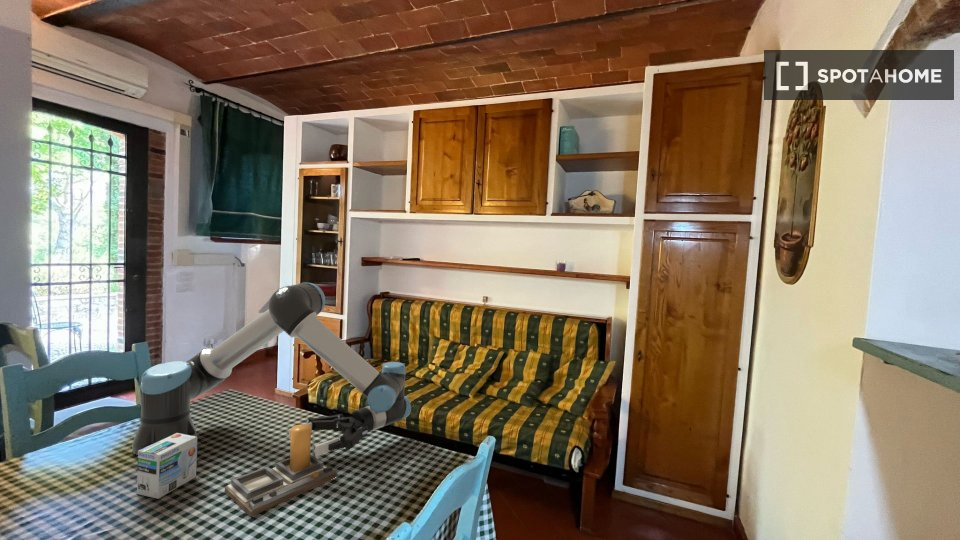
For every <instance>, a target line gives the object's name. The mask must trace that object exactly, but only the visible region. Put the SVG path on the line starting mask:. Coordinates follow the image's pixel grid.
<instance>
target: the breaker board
mask: <svg viewBox="0 0 960 540" xmlns="http://www.w3.org/2000/svg"><path fill="white" fill-rule="evenodd" d="M335 477H337V478H338V473H337V472H336V469H334V468H333V466H331V465H329V466H327V465H325V464H324V461H322V460H320V459H319V458H317V457H316V456H315V455H313V454H311V453H310V466H309V467H307V468H304V469H302V470H299V471H297V472H293V471H291V470H290V457H288V458H285V459H283V460H280V461H278V462H276V463H275V467H273V468H270V467H269V466H264V467H262V468H259V469H256V470H254V471H251V472H248V473H245V474H242V475H239V476H238V477H235V478H232V479H231V483H230V484H228V485H226V486H224V493H225V494H226V495H227V496H228V497H230V499H231V500H232V501H234V502H235V504H236V505H238V506H239V507H240V508H241V510H243V511H244V512H245V513H246V514H247V515H248V516H249V517H253V516H256V515H258V514H260V513H263V512H265V511H266V510H269V509H271V508H273V507H276V506H277V505H280V504H282V503H285V502H287V501H289V500H291V499H294V498H296V497H297V496H298V497H299V495H302V494H304V493H306V492H309V491H310V490H312V489H315V488H317V487H319V486H321V484H322V485H323V483H324V484H326V483H328V482H330V481H332V480H331V479H333V478H335ZM335 479H336V478H335ZM329 480H330V481H329ZM333 480H334V479H333ZM327 481H328V482H327ZM325 482H326V483H325Z"/></svg>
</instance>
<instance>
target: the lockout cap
mask: <svg viewBox="0 0 960 540" xmlns="http://www.w3.org/2000/svg"><path fill="white" fill-rule="evenodd" d="M290 429H291V439H290V444H289V445H290V449H289V450H290V451H289V452H290V453H289V458H290V470H291V471H293V472H297V471H299V470H302V469H304V468H307V467H309V466H310V454H311V443H312V442H311V440H312V437H311V436H312V432H311V426H310V425H307V423H303V424H302V423H301V424H297V425H294V426H292V427H290Z"/></svg>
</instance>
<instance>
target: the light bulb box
mask: <svg viewBox="0 0 960 540" xmlns="http://www.w3.org/2000/svg"><path fill="white" fill-rule="evenodd" d="M197 457H198V436H197V435H196V436H190V435H185V434H180V433H176V434H174V435H171V436H169V437H167V438H165V439H163V440H161V441H159V442H156V443H154V444H152V445H150V446H148V447H145V448H143V449H141V450H139V451H138V456H137V474H136V476H137V477H136V479H137V480H136V494H137V495H141V496H145V497H149V498H154V499H157V500H158V499H161V498H162V497H164V496H165V495H167V494H169V493H171V492H173V491H174V490H176V489H177V488H179V487H181V486H183V485H184V484H186V483H188V482H189V481H191V480H193V479H194V478H196V477H197V462H198V461H197Z"/></svg>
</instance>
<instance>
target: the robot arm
mask: <svg viewBox="0 0 960 540" xmlns="http://www.w3.org/2000/svg"><path fill="white" fill-rule="evenodd" d="M325 305H326V296H325V294H324V291H323V290H322V288H321V287H319V286H318V285H317V284H315V283H312V282H305V281H303V282H299V283H297V284H292V285H285V286H281V288H278V289H277V290H275V291H274V292H273V294H272V295H271V296H270V298H269V302H268V309H266V311H264V312H262V313H261V314H260V315H258V316H257V317H256V318H254V319H253V320H251V321H250V322H249V323H247V324H246V325H244V326H243V327H241V328H240V329H239V330H237V331H236V332H234V333H233V334H232V335H231V336H229V337H228V338H226V339H225V340H224V341H222V342H220V343H219V344H218V345H216V346H215V347H205V348H204V349H203V350H201V351H200V352H198V353H196V355H194V356H193V357H191V358H190V359H188V360H187V361H180V360H179V361H178V360H176V361H174V360H173V361H167V362H163V363H159V364H156V365H153V366H150V367H149V368H148V369H146V370H145V371H144V372H143V373H142V375H141V383H140V385H139V386H140V424H139V425H138V428H137V431H136V434H135V435H134V438H133V441H132V445H131V447H132V448H131V450H132V451H133V452H132V451H131V452H132V454H134V455H135V454H136V455H135V456H137V455H138V451H139V450H141V449H143V448H145V447H148V446H150V445H152V444H154V443H156V442H159V441H161V440H163V439H165V438H167V437H169V436H171V435H174V434H176V433H180V434H185V435H190V436H196V437H197V430H196V427H195V424H194V422H193V419H192V417H191V400H193V399H196V398H197V397H199V396H201V395H203V394H205V393H207V392H209V391H212V390H214V389H215V388H218V386H220V385H221V384H223V382H224V381H225V380H226V379H227V378H228V377H230V375H231V374H232V372H233V371H232V370H233V368H234V367H236V366H237V365H238V364H240V363H242V362H243V361H244V360H246V359H247V358H249V357H250V356H251V355H253V354H254V353H255V352H257V351H258V350H259V349H261V348H263V346H265V345H267V344H268V343H269V342H272V340H273V339H275V338H276V337H277V336H279V335H280V334H282V333H283V332H284V333H286V334H287V335H288V336H289V337H290V338H297V339H298V340H300V341H301V342H302V343H303V344H304V345H306V347H308V348H309V349H310V350H311V351H312V352H314V353H315V354H316V355H317V356H318V357H319V358H320V359H322V360H323V361H324V362H325V363H326V364H328V365H329V366H330V367H331V368H332V369H333V370H335V371H336V372H337V373H338V374H339V375H341V377H342V378H344V379H345V381H348V383H350V384H351V385H352V386H353V387H355V389H357V390H358V391H359V392H360V393H362V395H363V396H364V397H366V398H367V401H366V402H367V406H365V407H361V408H359V409H355V410H353V411H352V413H350V415H349V416H344V415H343V413H339V414H335V415H328V416H319V417H310V418H308V421H307V423H306V424H307V425H310V426H311V433H312V431H331V430H332V431H334V432H341V433H342V435H340V437H339V436H337V437H335V438H332V439H329V440H326V441H324V442H321V443H319V444H316V445H315V446H314V447H315V448H314V457H316V458H317V457H319V456H323V455H325V454H327V453H330V452H333V451H335V450H338V449H344V448H345V450H347V451H349V450H351V449H353V447H354V446H355V445H357V443H359V441H361V440H362V439H363V438H365V437H367V436H368V433H371V432H372V431H376V430H378V429H381V428H384V427H386V426H389V425H392V424H395V423H397V422H400V421H402V420H404V419H406V418H408V417H409V415H410V414H411V411H412V405H411V401H410V399H409V398H408V397H407V396H406V395H405V386H406V385H405V383H406V375H407V373H406V365H405V364H404V363H402V362H399V361H390V362H389V361H388V362H386V363H385V362H384V364H383V365H382V368H381V372H379V371H378V370H377V369H376V368H375V367H374V366H372V364H371V363H369V362H368V361H367V360H365V358H363V357H362V356H361V355H360V354H359V353H358V352H356V350H354V349H353V348H352V347H351V346H349V345H348V343H346V342H345V341H344V340H342V338H340V337H339V336H338V335H337V334H336V333H335V332H333V331H332V330H331V329H330V327H328V326H326V324H324V323H323V321H321V320H320V319H318V318H317V316H318V315H320V314H321V312H322V311H323V310H324V308H325ZM288 440H291V428H289V429H288Z"/></svg>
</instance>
